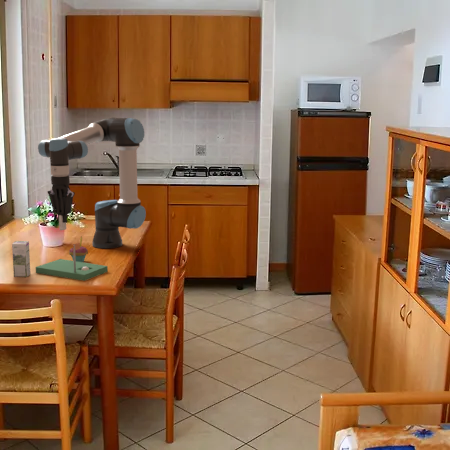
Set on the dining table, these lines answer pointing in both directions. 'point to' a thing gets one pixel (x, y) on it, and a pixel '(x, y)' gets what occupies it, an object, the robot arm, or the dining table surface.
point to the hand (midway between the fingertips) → (62, 229)
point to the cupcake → (79, 253)
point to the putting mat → (71, 268)
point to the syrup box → (21, 258)
